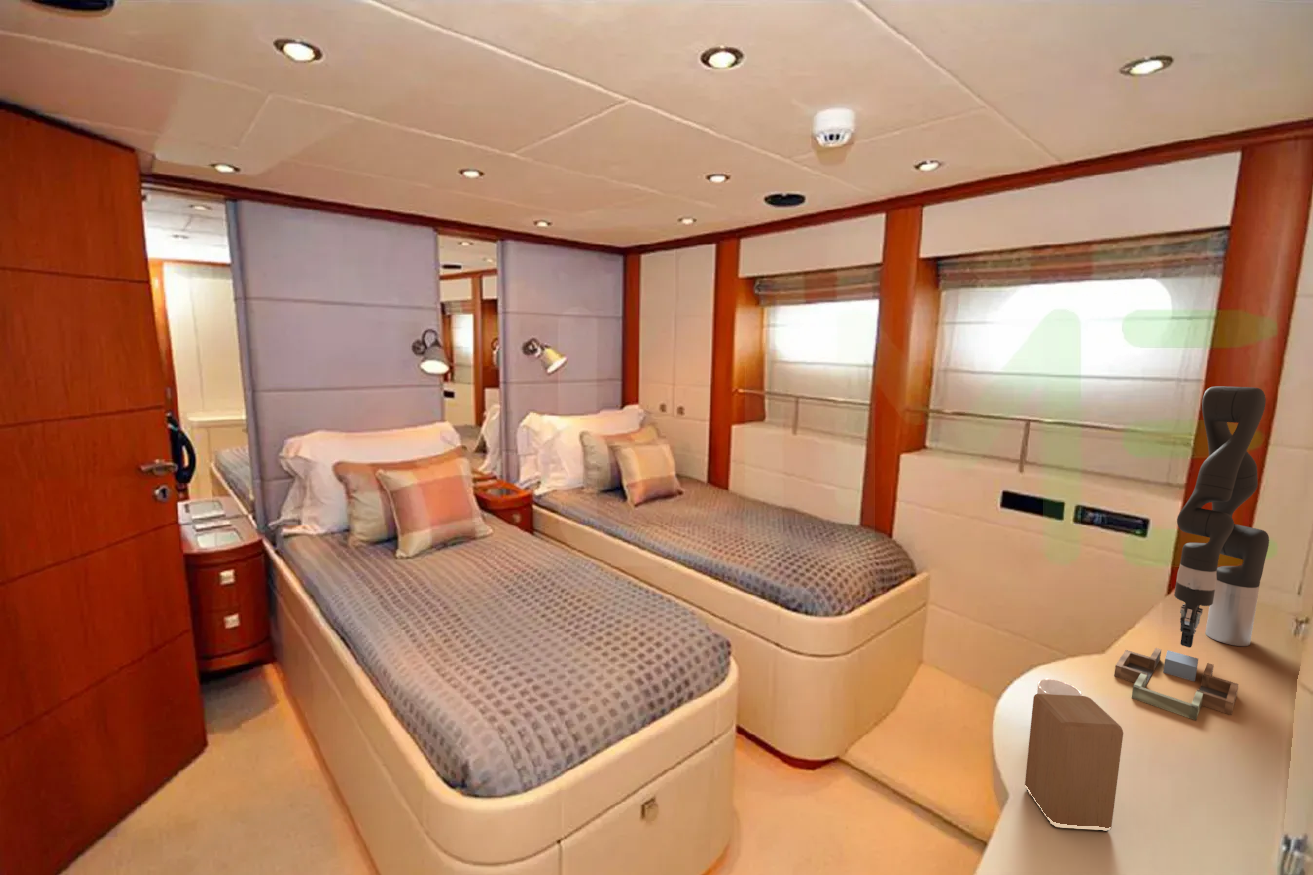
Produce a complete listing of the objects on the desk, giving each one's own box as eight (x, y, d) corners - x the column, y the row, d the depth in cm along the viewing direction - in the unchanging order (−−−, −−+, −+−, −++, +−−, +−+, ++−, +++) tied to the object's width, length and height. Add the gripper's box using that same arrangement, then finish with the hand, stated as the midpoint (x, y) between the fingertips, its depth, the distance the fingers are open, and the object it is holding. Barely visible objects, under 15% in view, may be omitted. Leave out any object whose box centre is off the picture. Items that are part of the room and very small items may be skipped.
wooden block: (1077, 791, 110) (1089, 693, 107) (1113, 834, 100) (1127, 728, 97) (1022, 787, 111) (1031, 690, 108) (1051, 830, 101) (1063, 725, 98)
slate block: (1165, 664, 154) (1167, 650, 153) (1196, 672, 150) (1198, 658, 149) (1163, 673, 150) (1165, 658, 149) (1194, 682, 146) (1196, 667, 145)
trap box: (1130, 650, 160) (1132, 640, 160) (1239, 683, 144) (1241, 672, 144) (1105, 688, 143) (1107, 677, 142) (1226, 731, 127) (1228, 718, 126)
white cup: (1070, 724, 129) (1074, 682, 128) (1082, 746, 122) (1087, 703, 121) (1029, 717, 132) (1033, 676, 130) (1039, 738, 125) (1043, 695, 123)
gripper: (1180, 573, 159) (1172, 632, 162) (1172, 585, 151) (1162, 648, 153) (1218, 581, 154) (1208, 643, 156) (1211, 594, 145) (1201, 659, 148)
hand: (1186, 645), depth 155 cm, fingers closed
